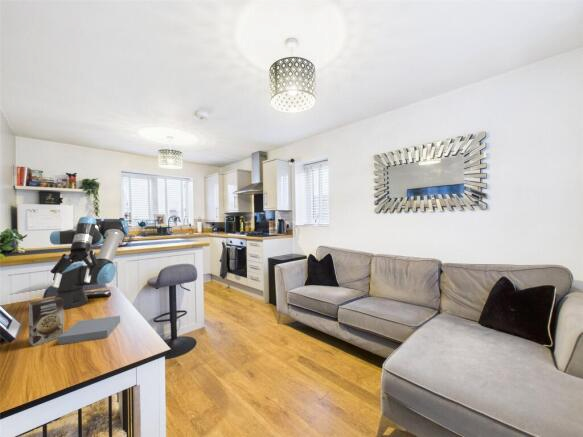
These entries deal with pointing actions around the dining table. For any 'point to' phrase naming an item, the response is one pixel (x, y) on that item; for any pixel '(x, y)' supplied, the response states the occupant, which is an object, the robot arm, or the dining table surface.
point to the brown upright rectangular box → (45, 320)
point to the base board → (90, 330)
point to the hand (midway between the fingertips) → (71, 284)
